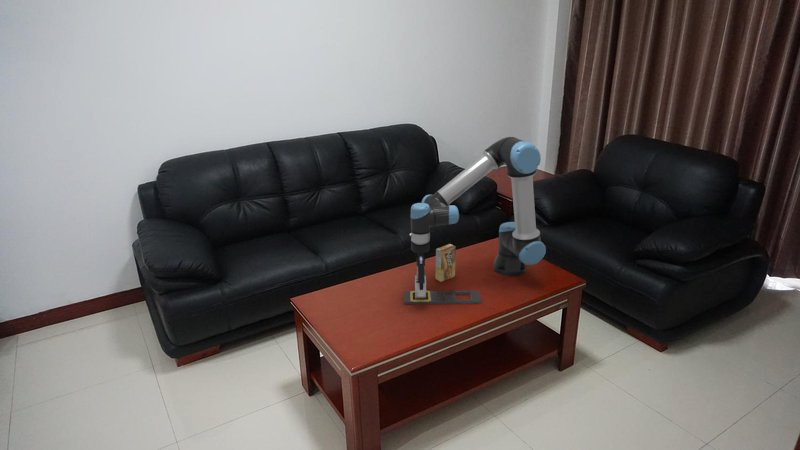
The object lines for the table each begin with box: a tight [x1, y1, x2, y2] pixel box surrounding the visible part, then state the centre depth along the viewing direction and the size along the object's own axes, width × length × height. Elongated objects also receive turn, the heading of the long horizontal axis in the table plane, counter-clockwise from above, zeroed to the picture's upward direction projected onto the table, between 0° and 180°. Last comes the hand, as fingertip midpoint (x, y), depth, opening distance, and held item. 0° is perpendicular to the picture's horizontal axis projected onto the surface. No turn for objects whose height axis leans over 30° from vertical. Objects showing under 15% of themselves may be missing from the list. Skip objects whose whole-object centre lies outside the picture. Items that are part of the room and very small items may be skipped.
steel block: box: [414, 274, 427, 300], centre depth 207 cm, size 4×4×10 cm
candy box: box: [434, 243, 457, 282], centre depth 223 cm, size 9×4×15 cm, turn 129°
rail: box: [403, 290, 482, 305], centre depth 208 cm, size 32×9×1 cm, turn 90°
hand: (420, 287), depth 207 cm, fingers open, 13 cm apart
